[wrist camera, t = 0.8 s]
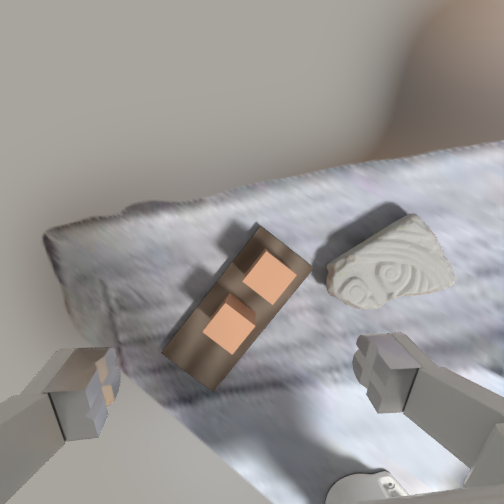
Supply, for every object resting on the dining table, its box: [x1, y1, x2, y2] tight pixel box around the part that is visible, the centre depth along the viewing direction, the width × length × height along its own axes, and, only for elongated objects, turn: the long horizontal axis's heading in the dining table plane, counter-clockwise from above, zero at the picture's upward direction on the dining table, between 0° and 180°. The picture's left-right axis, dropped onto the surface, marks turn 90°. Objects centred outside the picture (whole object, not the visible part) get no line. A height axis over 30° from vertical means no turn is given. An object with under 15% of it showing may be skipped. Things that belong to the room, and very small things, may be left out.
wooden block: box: [203, 293, 256, 355], centre depth 46 cm, size 6×6×7 cm
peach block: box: [242, 249, 297, 305], centre depth 45 cm, size 6×6×7 cm
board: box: [162, 226, 314, 392], centre depth 50 cm, size 13×32×1 cm, turn 142°
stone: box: [326, 214, 455, 309], centre depth 47 cm, size 21×15×5 cm
